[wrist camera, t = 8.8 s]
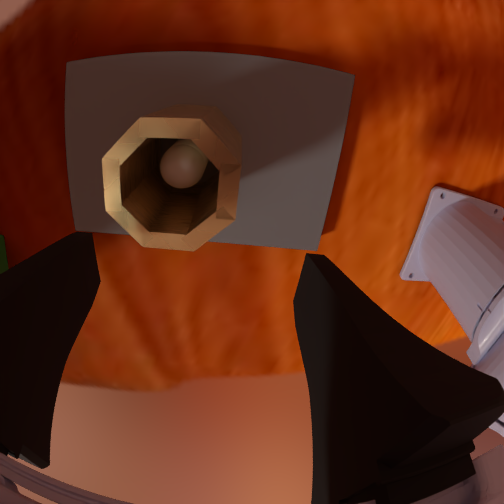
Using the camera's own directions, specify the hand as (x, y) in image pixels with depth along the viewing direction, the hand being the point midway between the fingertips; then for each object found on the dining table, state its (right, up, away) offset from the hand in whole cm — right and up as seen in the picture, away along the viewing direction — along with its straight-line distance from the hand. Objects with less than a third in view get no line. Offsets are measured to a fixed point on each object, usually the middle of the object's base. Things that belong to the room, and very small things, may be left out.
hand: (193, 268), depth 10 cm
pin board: (-1, +7, +7) cm, 10 cm away
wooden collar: (-1, +6, +5) cm, 8 cm away
